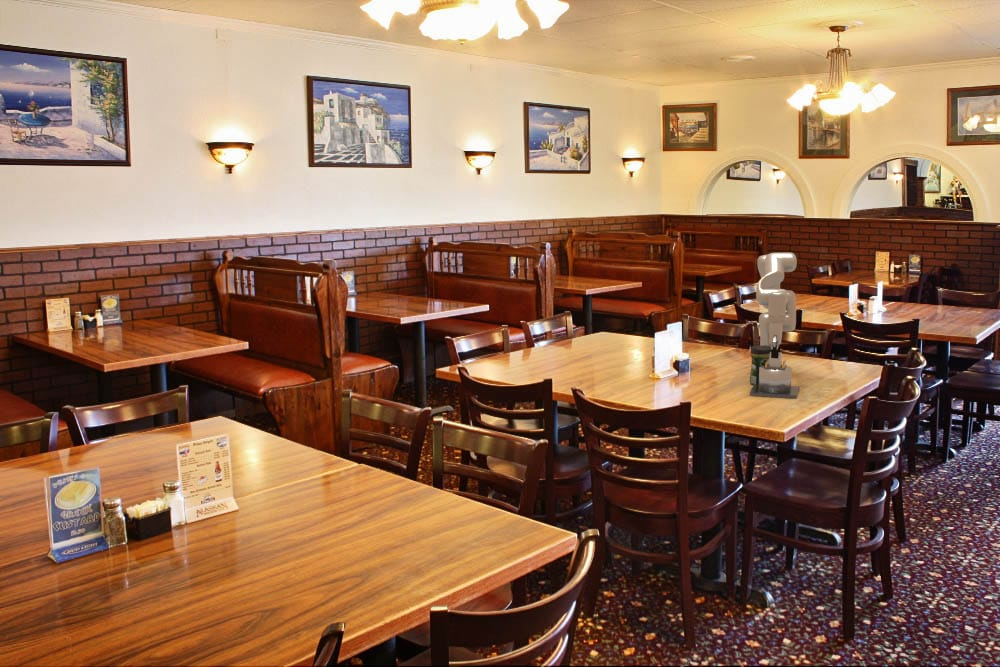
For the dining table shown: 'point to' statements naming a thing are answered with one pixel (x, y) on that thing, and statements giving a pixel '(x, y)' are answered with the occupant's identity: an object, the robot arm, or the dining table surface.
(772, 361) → the white block with knob
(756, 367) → the coffee jar
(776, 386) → the cylinder on square plate
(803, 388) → the dining table surface
